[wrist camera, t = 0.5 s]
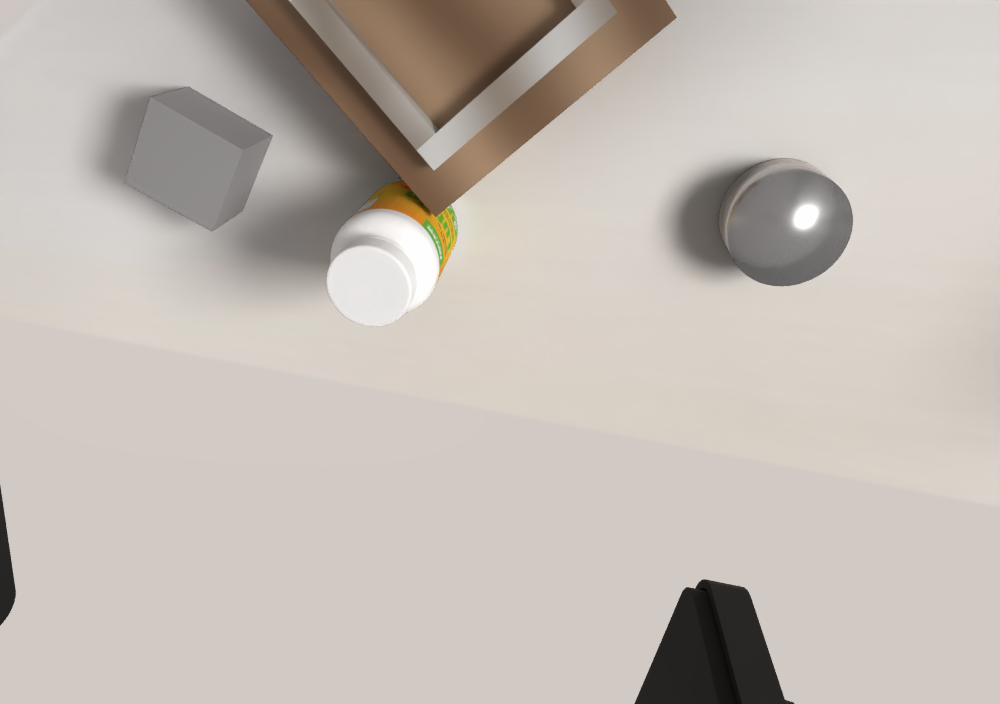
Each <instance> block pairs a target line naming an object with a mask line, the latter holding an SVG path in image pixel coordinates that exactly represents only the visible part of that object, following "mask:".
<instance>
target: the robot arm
mask: <svg viewBox="0 0 1000 704" xmlns="http://www.w3.org/2000/svg"><path fill="white" fill-rule="evenodd" d="M15 592H16V591H15V584H14V577H13V570H12V563H11V556H10V549H9V543H8V535H7V529H6V522H5V515H4V508H3V501H2V495H1V488H0V625H1V624H2V623H3V622H4V620H5V619H6V617H7V616H8V615H9V613H10V611H11V609H12V606H13V604H14V601H15V596H16V593H15ZM635 704H794V703H793V702H790V701H787V700H785V699H784V696H783V693H782V690H781V687H780V684H779V681H778V678H777V675H776V672H775V669H774V666H773V663H772V660H771V657H770V654H769V651H768V648H767V645H766V642H765V639H764V636H763V633H762V630H761V626H760V624H759V620H758V618H757V614H756V612H755V608H754V605H753V602H752V599H751V597H750V594H749V592H748V591H747V590H746V589H745V588H744V587H740V586H734V585H730V584H725V583H720V582H715V581H710V580H701V581H700V582H699V583H698V585H697V587H696V588H695V589H694V588H689V587H686V588H685V589H684V590H683V592H682V594H681V596H680V599H679V601H678V603H677V606H676V608H675V610H674V613H673V615H672V617H671V620H670V622H669V624H668V627H667V629H666V631H665V634H664V636H663V638H662V641H661V643H660V646H659V648H658V650H657V653H656V655H655V657H654V660H653V662H652V664H651V667H650V669H649V671H648V674H647V676H646V678H645V681H644V683H643V685H642V688H641V690H640V692H639V695H638V697H637V699H636V702H635Z"/></svg>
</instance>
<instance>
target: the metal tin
mask: <svg viewBox="0 0 1000 704" xmlns="http://www.w3.org/2000/svg"><path fill="white" fill-rule="evenodd" d="M852 225H853V215H852V209H851V206H850V203H849V200H848V198H847V197H846V195H845V193H844V192H843V191H842V189H841V188H840V187H839V186H838V185H837V184H836V183H834V182H833V181H832V180H831V179H830V178H828V177H827V176H826V175H825V174H823V173H822V172H821V171H820V170H818V169H817V168H816V167H814V166H813V165H811V164H809V163H807V162H804V161H801V160H797V159H791V158H780V159H773V160H768V161H765V162H762V163H759V164H757V165H755V166H753V167H751V168H750V169H748V170H747V171H745V172H744V173H743V174H741V175H740V176H739V177H738V178H737V179H736V180H735V181H734V182H733V184H732V185H731V186H730V187H729V189H728V191H727V192H726V194H725V196H724V198H723V200H722V203H721V206H720V211H719V229H720V233H721V236H722V239H723V241H724V243H725V245H726V247H727V249H728V250H729V252H730V254H731V256H732V258H733V260H734V261H735V263H736V265H737V266H738V267H739V268H740V269H741V271H742V272H744V273H745V274H746V275H747V276H749V277H750V278H752V279H753V280H756V281H758V282H760V283H763V284H767V285H772V286H790V285H796V284H800V283H803V282H806V281H809V280H811V279H813V278H815V277H817V276H819V275H820V274H822V273H823V272H825V271H826V270H827V269H828V268H830V267H831V266H832V265H833V264H834V263H835V262H836V261H837V260H838V258H839V257H840V256H841V254H842V253H843V251H844V249H845V248H846V246H847V244H848V241H849V239H850V235H851V232H852Z"/></svg>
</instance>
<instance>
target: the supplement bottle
mask: <svg viewBox="0 0 1000 704" xmlns="http://www.w3.org/2000/svg"><path fill="white" fill-rule="evenodd" d="M458 228H459V227H458V218H457V214H456V211H455V209H454V206H453V204H451V205H450V206H449V207H447V208H446V209H445V210H444V211H442V212H441V213H440V214H439V215H438V216H436V217H435V216H434V215H433V214H432V213H431V212H430V210H429V209H428V208H427V207H426V206H425V205H424V203H423V202H422V201H421V200H420V199H419V198H418V197H417V195H416V194H415V193H414V192H413V191H412V190H411V189H410V187H409V186H408V185H407V184H406V183H405V182H404V181H403V179H402V178H401V179H397V180H394V181H391V182H389V183H387V184H385V185H384V186H382V187H381V188H380V189H379V190H378V191H376V192H375V193H374V194H373V195H372V196H371V197H370V198H369V199H368V200H367V201H366V202H365V203H364V204H363V206H362V207H360V208H359V210H358V211H357V212H356V213H355V214H354V215H353V216H352V217H351V218H350V219H349V220H348V221H347V222H346V223H345V224H344V225H343V226H342V227H341V229H340V230H339V231H338V233H337V235H336V237H335V239H334V241H333V244H332V248H331V254H330V266H329V268H328V271H327V276H326V286H327V291H328V295H329V297H330V299H331V301H332V303H333V304H334V306H335V307H336V308H337V310H338V311H339V312H340V313H341V314H342V315H344V316H345V317H346V318H348V319H349V320H351V321H353V322H355V323H358V324H361V325H365V326H372V327H373V326H383V325H387V324H389V323H392V322H394V321H395V320H397V319H398V318H399V317H401V316H402V315H403V314H404V313H407V312H409V311H412V310H413V309H415V308H417V307H418V306H420V305H421V304H422V303H423V302H424V301H425V300H426V299H427V298H428V297H429V295H430V294H431V292H432V291H433V289H434V287H435V285H436V283H437V281H438V279H439V277H440V275H441V273H442V271H443V269H444V267H445V265H446V263H447V261H448V259H449V257H450V255H451V253H452V251H453V249H454V246H455V243H456V241H457V237H458Z"/></svg>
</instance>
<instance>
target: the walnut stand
mask: <svg viewBox="0 0 1000 704" xmlns="http://www.w3.org/2000/svg"><path fill="white" fill-rule="evenodd" d="M246 1H247V2H248V3H249V4H250V5H251V6H252V7H253V9H254V10H255V11H256V12H257V13H258V14H259V15H260V17H261V18H262V19H263V20H264V21H265V22H266V24H267V25H268V26H269V27H270V28H271V29H272V30H273V32H274V33H275V34H276V35H277V36H278V37H279V38H280V40H281V41H282V42H283V43H284V44H285V45H286V46H287V48H288V49H289V50H290V51H291V52H292V53H293V54H294V56H295V57H296V58H297V59H298V60H299V61H300V62H301V64H302V65H303V66H304V67H305V68H306V69H307V71H308V72H309V73H310V74H311V75H312V76H313V77H314V79H315V80H316V81H317V82H318V83H319V84H320V85H321V87H322V88H323V89H324V90H325V91H326V92H327V93H328V95H329V96H330V97H331V98H332V99H333V100H334V101H335V103H336V104H337V105H338V106H339V107H340V108H341V109H342V111H343V112H344V113H345V114H346V115H347V116H348V118H349V119H350V120H351V121H352V122H353V123H354V124H355V126H356V127H357V128H358V129H359V130H360V131H361V132H362V134H363V135H364V136H365V137H366V138H367V139H368V140H369V142H370V143H371V144H372V145H373V146H374V147H375V148H376V150H377V151H378V152H379V153H380V154H381V155H382V156H383V158H384V159H385V160H386V161H387V162H388V163H389V165H390V166H391V167H392V168H393V169H394V170H395V171H396V173H397V174H398V175H399V176H400V177H401V178H402V179H403V181H404V182H405V183H406V184H407V185H408V186H409V187H410V189H411V190H412V191H413V192H414V193H415V194H416V195H417V197H418V198H419V199H420V200H421V201H422V202H423V203H424V205H425V206H426V207H427V208H428V209H429V210H430V212H431V213H432V214H433V215H434V216H435V217H436V216H438V215H439V214H440V213H441V212H442V211H444V210H445V209H446V208H447V207H449V206H450V205H451V204H452V203H453V202H455V201H456V200H457V199H458V198H459V197H461V196H462V195H463V194H464V193H465V192H467V191H468V190H469V189H470V188H471V187H473V186H474V185H475V184H476V183H477V182H479V181H480V180H481V179H482V178H484V177H485V176H486V175H487V174H488V173H490V172H491V171H492V170H493V169H494V168H496V167H497V166H498V165H499V164H500V163H502V162H503V161H504V160H505V159H506V158H508V157H509V156H510V155H511V154H513V153H514V152H515V151H516V150H517V149H519V148H520V147H521V146H522V145H523V144H525V143H526V142H527V141H528V140H529V139H531V138H532V137H533V136H534V135H535V134H537V133H538V132H539V131H540V130H542V129H543V128H544V127H545V126H546V125H548V124H549V123H550V122H551V121H552V120H554V119H555V118H556V117H557V116H558V115H560V114H561V113H562V112H563V111H564V110H566V109H567V108H568V107H569V106H570V105H572V104H573V103H574V102H575V101H577V100H578V99H579V98H580V97H581V96H583V95H584V94H585V93H586V92H587V91H589V90H590V89H591V88H592V87H593V86H595V85H596V84H597V83H598V82H599V81H601V80H602V79H603V78H604V77H606V76H607V75H608V74H609V73H610V72H612V71H613V70H614V69H615V68H616V67H618V66H619V65H620V64H621V63H622V62H624V61H625V60H626V59H627V58H628V57H630V56H631V55H632V54H633V53H635V52H636V51H637V50H638V49H639V48H641V47H642V46H643V45H644V44H645V43H647V42H648V41H649V40H650V39H651V38H653V37H654V36H655V35H656V34H657V33H659V32H660V31H661V30H662V29H663V28H665V27H666V26H667V25H668V24H670V23H671V22H672V21H673V20H674V19H676V18H677V17H676V16H675V14H674V13H673V11H672V10H671V8H670V7H669V5H668V4H667V2H666V1H665V0H246Z"/></svg>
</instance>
